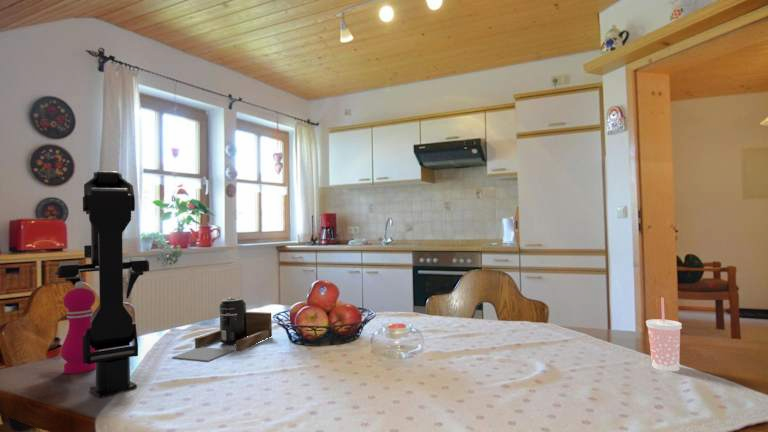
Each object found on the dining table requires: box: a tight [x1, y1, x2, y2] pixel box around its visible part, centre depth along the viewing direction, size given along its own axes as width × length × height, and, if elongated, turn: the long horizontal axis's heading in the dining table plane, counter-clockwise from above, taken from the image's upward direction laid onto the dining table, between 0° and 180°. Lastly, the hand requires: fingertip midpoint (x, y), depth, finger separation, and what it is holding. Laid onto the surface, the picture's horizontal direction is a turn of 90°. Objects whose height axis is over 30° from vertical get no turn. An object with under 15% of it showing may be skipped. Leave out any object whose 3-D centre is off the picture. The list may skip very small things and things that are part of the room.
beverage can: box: [219, 296, 247, 346], centre depth 119 cm, size 7×7×12 cm
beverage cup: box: [645, 296, 682, 372], centre depth 88 cm, size 6×6×14 cm
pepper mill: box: [60, 281, 97, 375], centre depth 100 cm, size 7×7×20 cm
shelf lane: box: [194, 311, 273, 352], centre depth 119 cm, size 14×14×7 cm
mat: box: [171, 346, 235, 363], centre depth 108 cm, size 9×11×1 cm
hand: (105, 300), depth 109 cm, fingers open, 9 cm apart
